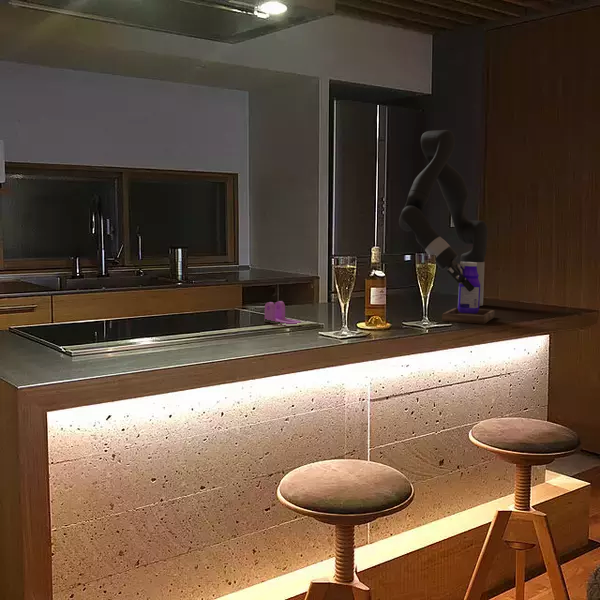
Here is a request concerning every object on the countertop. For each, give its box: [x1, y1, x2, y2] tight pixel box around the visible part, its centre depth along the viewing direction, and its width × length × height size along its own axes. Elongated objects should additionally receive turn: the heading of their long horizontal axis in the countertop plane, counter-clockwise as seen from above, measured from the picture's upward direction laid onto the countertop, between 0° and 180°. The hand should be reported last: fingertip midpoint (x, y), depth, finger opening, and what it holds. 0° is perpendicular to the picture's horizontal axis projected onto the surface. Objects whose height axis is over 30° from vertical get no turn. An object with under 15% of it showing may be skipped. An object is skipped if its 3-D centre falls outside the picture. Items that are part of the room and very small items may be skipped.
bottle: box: [457, 262, 480, 314], centre depth 266 cm, size 7×6×17 cm
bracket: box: [264, 300, 302, 324], centre depth 250 cm, size 13×6×7 cm, turn 43°
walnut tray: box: [441, 307, 495, 325], centre depth 267 cm, size 18×14×2 cm
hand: (474, 289), depth 265 cm, fingers closed on bottle, 6 cm apart
